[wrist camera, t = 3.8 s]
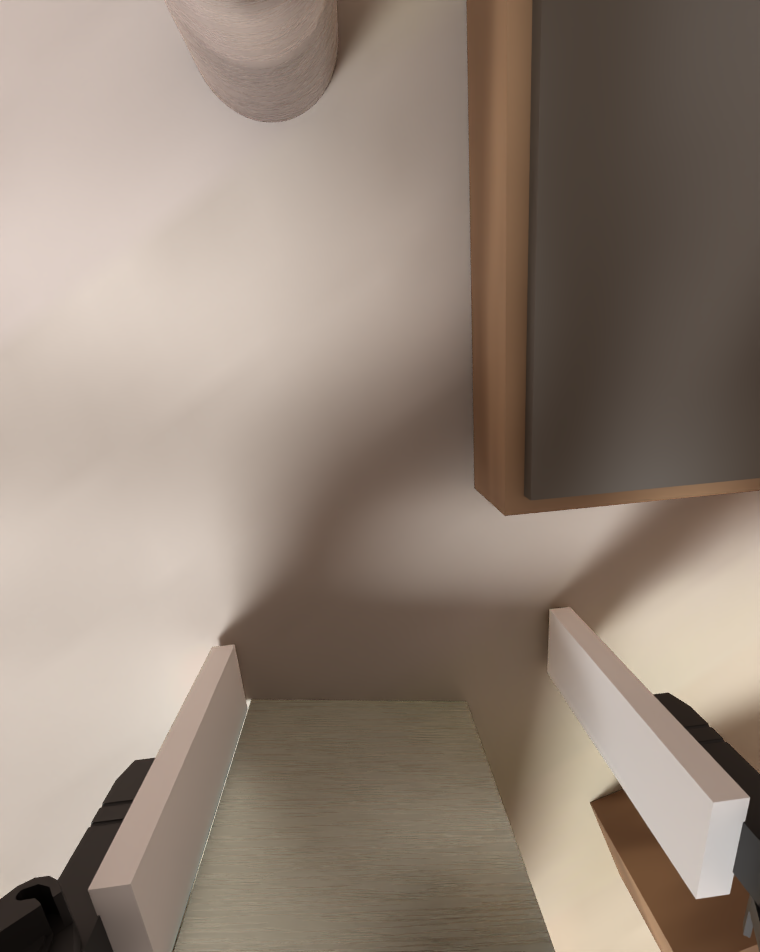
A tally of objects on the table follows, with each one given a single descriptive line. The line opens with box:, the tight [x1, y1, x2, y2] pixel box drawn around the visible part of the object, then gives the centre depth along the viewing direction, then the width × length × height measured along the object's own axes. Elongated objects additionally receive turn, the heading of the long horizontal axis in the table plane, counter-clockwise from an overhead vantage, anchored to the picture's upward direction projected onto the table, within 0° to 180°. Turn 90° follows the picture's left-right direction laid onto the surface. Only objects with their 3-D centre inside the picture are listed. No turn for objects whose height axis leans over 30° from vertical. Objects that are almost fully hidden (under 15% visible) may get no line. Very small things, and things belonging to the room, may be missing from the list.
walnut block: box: [590, 789, 759, 952], centre depth 15 cm, size 5×5×5 cm
